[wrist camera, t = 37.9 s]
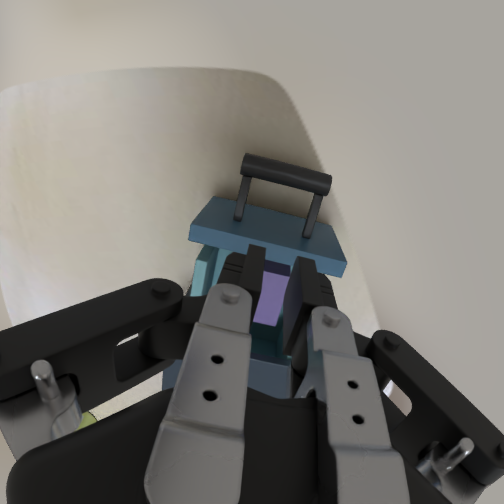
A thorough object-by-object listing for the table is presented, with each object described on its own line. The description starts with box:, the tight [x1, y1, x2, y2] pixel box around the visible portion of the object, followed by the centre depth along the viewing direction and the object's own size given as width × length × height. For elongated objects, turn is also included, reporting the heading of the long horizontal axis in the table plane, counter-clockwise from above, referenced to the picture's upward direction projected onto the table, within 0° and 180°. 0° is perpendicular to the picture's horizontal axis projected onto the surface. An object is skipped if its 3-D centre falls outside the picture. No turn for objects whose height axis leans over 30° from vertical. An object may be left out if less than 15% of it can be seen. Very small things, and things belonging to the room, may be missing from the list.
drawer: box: [188, 153, 347, 360], centre depth 25 cm, size 18×10×7 cm, turn 167°
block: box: [232, 251, 291, 326], centre depth 25 cm, size 5×5×5 cm
